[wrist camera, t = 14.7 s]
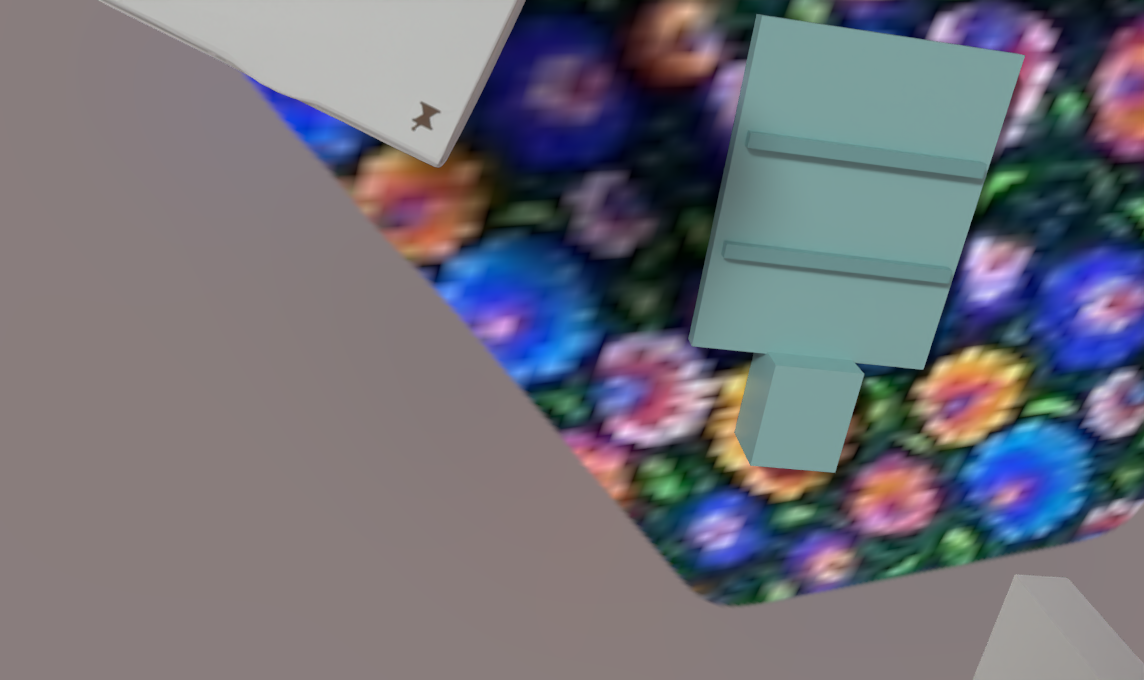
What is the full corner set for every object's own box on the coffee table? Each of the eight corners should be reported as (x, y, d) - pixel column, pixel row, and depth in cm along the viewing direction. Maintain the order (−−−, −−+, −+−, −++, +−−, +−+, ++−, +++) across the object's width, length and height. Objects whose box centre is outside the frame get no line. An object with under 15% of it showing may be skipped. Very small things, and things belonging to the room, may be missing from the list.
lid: (749, 12, 36) (772, 18, 34) (1001, 50, 38) (1044, 59, 35) (664, 424, 44) (676, 459, 41) (878, 443, 45) (905, 478, 42)
